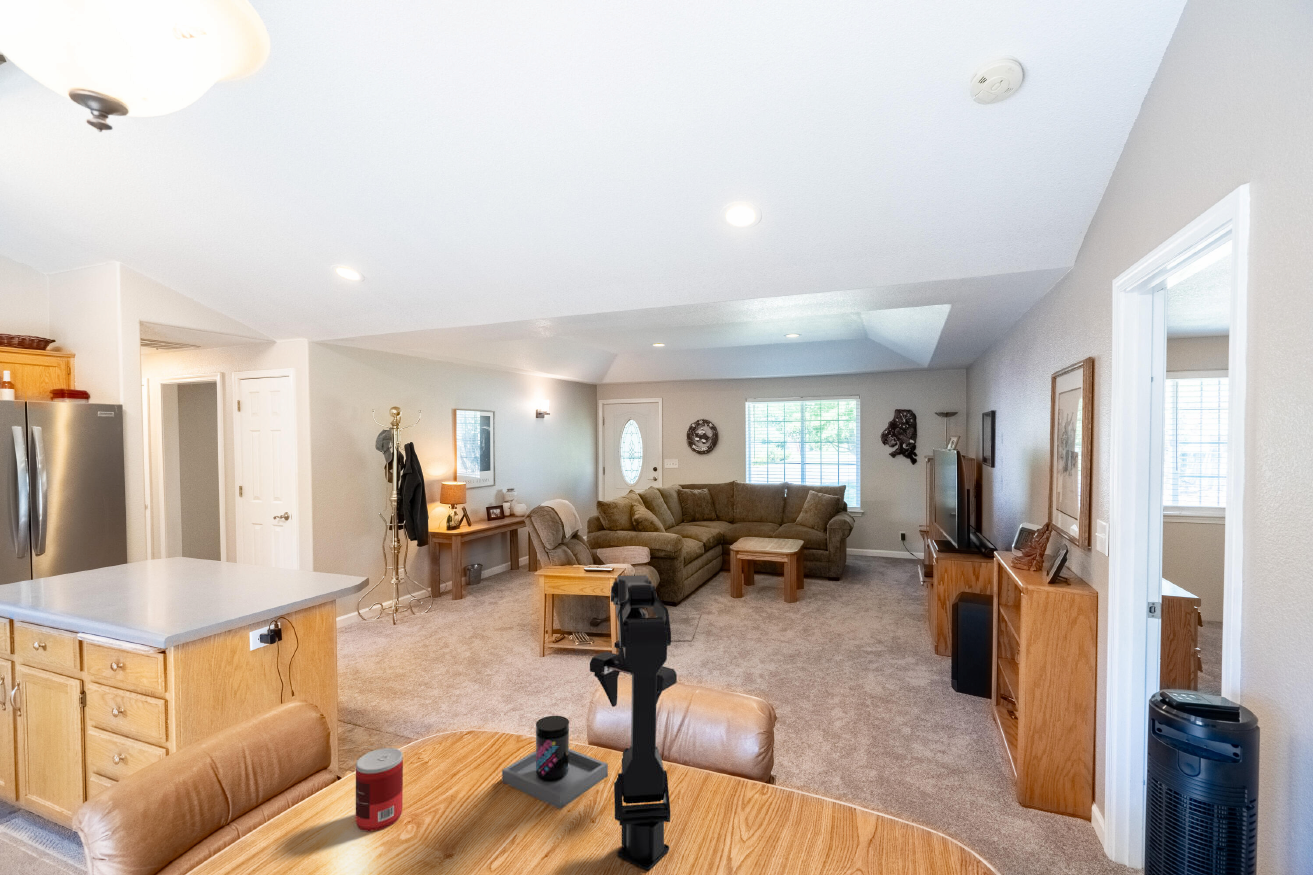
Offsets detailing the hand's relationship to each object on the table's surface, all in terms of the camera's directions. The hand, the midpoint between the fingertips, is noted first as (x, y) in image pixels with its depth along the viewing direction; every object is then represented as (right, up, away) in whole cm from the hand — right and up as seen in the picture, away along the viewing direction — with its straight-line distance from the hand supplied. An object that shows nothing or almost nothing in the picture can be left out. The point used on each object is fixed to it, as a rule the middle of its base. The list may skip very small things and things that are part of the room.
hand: (631, 711), depth 126 cm
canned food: (-45, -13, -15) cm, 50 cm away
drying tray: (-16, -13, -1) cm, 20 cm away
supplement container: (-16, -12, -1) cm, 20 cm away
